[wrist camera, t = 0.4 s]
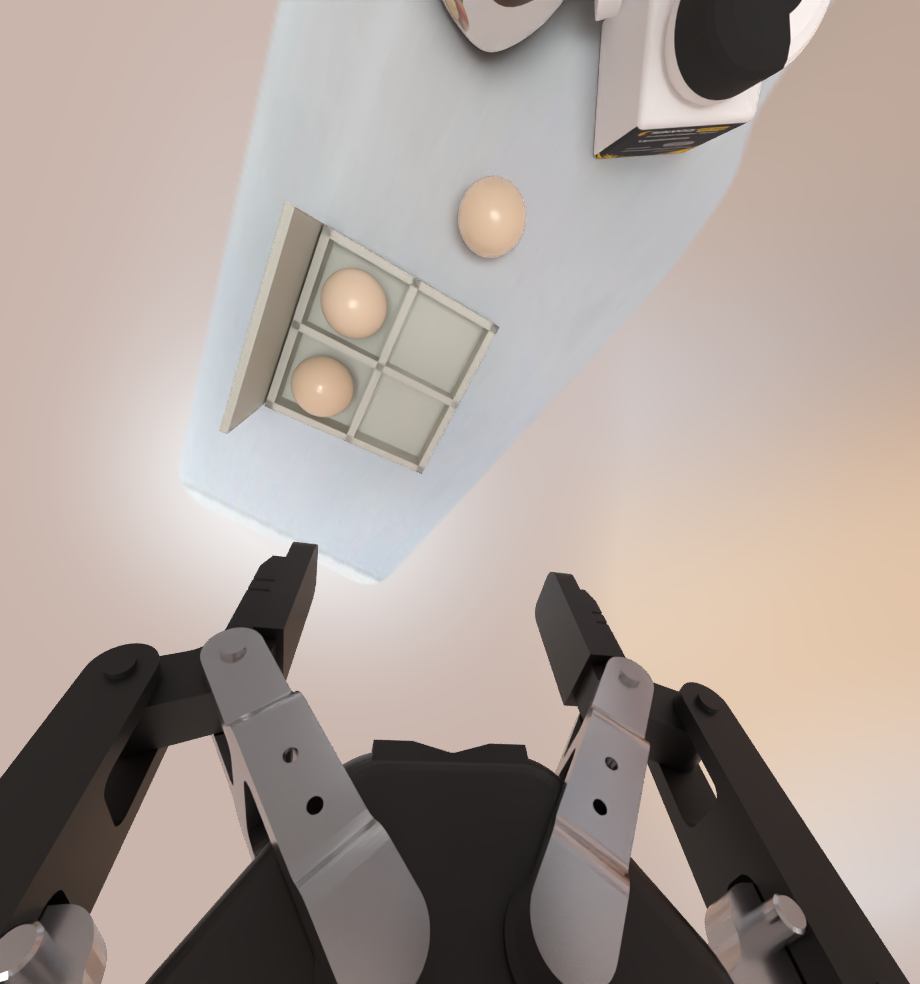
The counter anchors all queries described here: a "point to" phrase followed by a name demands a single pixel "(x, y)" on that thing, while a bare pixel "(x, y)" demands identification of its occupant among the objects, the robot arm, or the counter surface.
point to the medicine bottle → (691, 68)
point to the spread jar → (510, 19)
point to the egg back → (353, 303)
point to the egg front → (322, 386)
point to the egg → (492, 216)
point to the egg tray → (357, 347)
